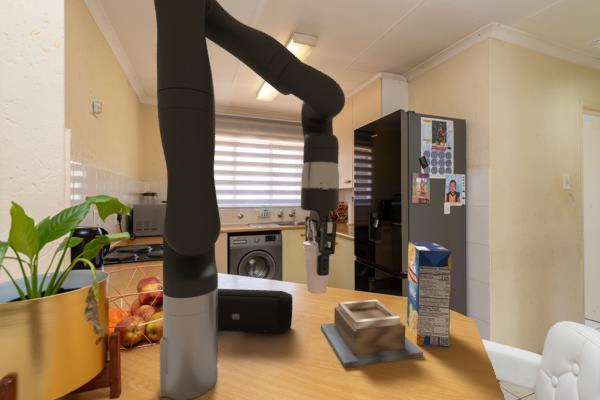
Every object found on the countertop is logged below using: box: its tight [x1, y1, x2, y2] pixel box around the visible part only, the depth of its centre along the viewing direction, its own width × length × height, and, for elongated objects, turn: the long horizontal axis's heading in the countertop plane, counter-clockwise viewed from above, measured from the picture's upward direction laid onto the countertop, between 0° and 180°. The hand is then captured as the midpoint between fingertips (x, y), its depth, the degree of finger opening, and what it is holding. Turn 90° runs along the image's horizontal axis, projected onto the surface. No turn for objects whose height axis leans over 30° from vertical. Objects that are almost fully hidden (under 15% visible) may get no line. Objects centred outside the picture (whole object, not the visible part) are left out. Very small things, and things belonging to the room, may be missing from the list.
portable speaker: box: [218, 288, 293, 334], centre depth 68 cm, size 26×10×10 cm, turn 86°
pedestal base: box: [320, 298, 424, 368], centre depth 63 cm, size 18×16×8 cm
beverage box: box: [406, 241, 452, 349], centre depth 66 cm, size 7×11×22 cm, turn 170°
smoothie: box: [302, 240, 333, 295], centre depth 54 cm, size 6×6×14 cm
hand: (317, 269), depth 54 cm, fingers closed on smoothie, 6 cm apart
